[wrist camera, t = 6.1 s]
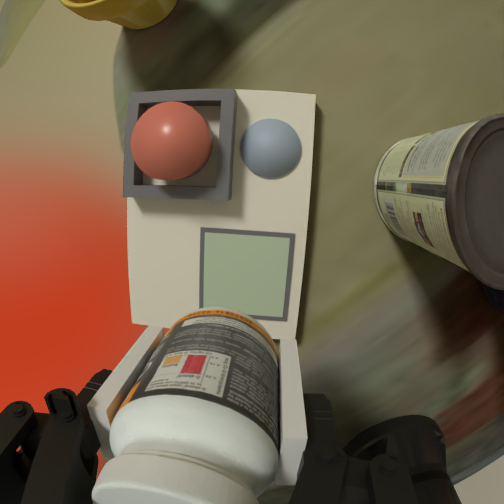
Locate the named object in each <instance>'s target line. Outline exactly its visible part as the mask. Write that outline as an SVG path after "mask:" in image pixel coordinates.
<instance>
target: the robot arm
mask: <svg viewBox="0 0 504 504" xmlns="http://www.w3.org/2000/svg"><path fill="white" fill-rule="evenodd" d="M163 338H164V334H163V327H157V326H150V325H149V326H148V327H147V328H146V330H145V331H144V332H143V334H142V335H141V336H140V337H139V339H138V340H137V341H136V342H135V344H134V345H133V346H132V347H131V349H130V350H129V351H128V352H127V354H126V355H125V356H124V358H123V359H122V360H121V361H120V363H119V364H118V365H117V367H116V368H115V369H114V370H113V371H111V370H106V369H103V370H102V371H100V372H98V373H96V374H95V375H94V376H93V377H92V378H91V380H90V382H88V383H87V384H86V386H85V388H83V389H82V391H81V392H80V393H79V394H78V395H77V396H76V394H75V393H74V392H73V391H71V390H70V389H65V388H58V389H54V390H51V391H50V392H48V393H47V394H46V395H45V397H44V398H45V401H46V404H47V407H48V409H49V412H50V414H47V413H37V412H34V410H33V408H32V406H31V404H29V403H28V402H24V401H16V402H13V403H11V404H10V405H8V406H7V407H6V408H5V409H4V410H3V411H2V412H1V413H0V504H93V501H92V490H93V488H94V485H95V482H96V475H97V468H98V456H97V454H96V453H97V451H98V449H99V448H100V447H101V450H102V452H103V455H104V456H107V457H111V458H114V457H113V454H112V451H111V447H110V439H109V437H110V428H111V424H112V422H113V419H114V417H115V415H116V413H117V412H118V410H119V408H120V407H121V405H122V403H123V402H124V400H125V399H126V397H127V396H128V394H129V392H130V390H131V389H132V387H133V386H134V385H135V383H136V381H137V380H138V378H139V376H140V375H141V373H142V372H143V370H144V368H145V367H146V365H147V363H148V361H149V360H150V358H151V356H152V354H153V352H154V351H155V349H156V348H157V347H158V345H159V344H160V342H161V341H162V339H163ZM278 368H279V417H278V421H279V459H278V468H277V472H276V475H275V477H274V485H295V484H296V486H295V489H294V491H293V494H292V497H291V499H290V502H289V504H462V503H461V501H460V499H459V497H458V495H457V493H456V491H455V489H454V486H453V484H452V482H451V480H450V478H449V476H448V474H447V468H446V452H445V440H444V436H443V434H442V432H441V430H440V428H439V426H438V425H437V423H436V422H435V421H434V420H433V419H431V418H429V417H426V416H420V415H409V416H402V417H397V418H394V419H390V420H387V421H385V422H382V423H380V424H378V425H375V426H373V427H372V428H370V429H368V430H366V431H365V432H363V433H362V434H360V435H359V436H357V437H356V438H355V439H354V440H352V441H351V442H350V443H349V444H348V445H347V446H346V448H345V449H344V450H343V449H342V448H340V446H339V442H338V437H337V433H336V428H335V423H334V419H333V414H332V409H331V404H330V401H329V400H328V399H327V398H326V397H325V395H324V394H303V391H302V382H301V374H300V365H299V357H298V349H297V341H296V339H280V347H279V356H278ZM19 446H20V447H21V449H20V450H19V451H18V452H17V451H16V450H17V448H18V447H19ZM296 480H297V483H296Z"/></svg>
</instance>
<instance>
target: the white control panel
mask: <svg viewBox="0 0 504 504" xmlns="http://www.w3.org/2000/svg"><path fill="white" fill-rule="evenodd" d="M315 97H316V95H314V94H304V93H293V92H279V91H262V90H235V89H181V90H162V91H148V92H137V93H129V102H128V112H127V123H126V135H125V150H124V171H123V172H124V173H123V197H127V200H128V201H127V237H128V268H129V287H130V302H131V315H132V323H135V324H141V325H148V326H149V325H150V326H157V327H163V328H169V329H170V328H171V326H172V325H173V324H174V323H175V322H176V321H177V320H178V319H179V318H181V317H182V316H183V315H185V314H187V313H188V312H191V311H194V310H197V309H200V308H205V307H224V308H230V309H235V310H238V311H240V312H243V313H245V314H247V315H248V316H250V317H252V318H253V319H255V320H256V321H258V322H259V323H260V324H261V325H262V326H263V327H264V328H265V329H266V331H267V332H268V333H269V334H270V336H271V338H272V339H295V336H296V328H297V320H298V312H299V303H300V295H301V286H302V277H303V267H304V258H305V247H306V237H307V226H308V214H309V201H310V188H311V174H312V159H313V141H314V122H315ZM169 101H175V102H181V103H184V104H186V105H189V106H190V107H192V108H193V109H194V110H196V111H197V112H198V113H199V114H200V115H202V116H203V117H204V118H205V119H206V121H207V122H208V124H209V125H210V128H211V130H212V134H213V149H212V153H211V155H210V158H209V160H208V161H207V163H206V164H205V166H204V167H203V168H202V169H201V170H200V171H199V172H197V173H196V174H194V175H193V176H190V177H188V178H185V179H180V180H159V179H155V178H152V177H150V176H148V175H147V174H145V173H144V172H143V171H142V170H141V169H140V168H139V167H138V166H137V164H136V162H135V161H134V158H133V156H132V152H131V136H132V132H133V129H134V127H135V125H136V123H137V121H138V120H139V118H140V117H141V116H142V115H143V114H144V113H145V112H146V111H147V110H148V109H150V108H151V107H153V106H155V105H157V104H160V103H163V102H169Z"/></svg>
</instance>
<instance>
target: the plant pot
mask: <svg viewBox="0 0 504 504" xmlns="http://www.w3.org/2000/svg"><path fill="white" fill-rule="evenodd" d="M59 1H60V2H61V3H62V4H63V5H64V6H66V7H67V8H69V9H70V10H72V11H73V12H75V13H76V14H78V15H80V16H81V17H83V18H86V19H89V20H95V21H102V20H108V21H111V22H113V23H117V24H119V25H122V26H124V27H127V28H130V29H143V28H147V27H150V26H153V25H155V24H157V23H159V22H160V21H162V20H163V19H164V18H166V17H167V16H168V15H169V14H170V12H171V11H172V10H173V8H174V6H175V4H176V2H177V0H59Z"/></svg>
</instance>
